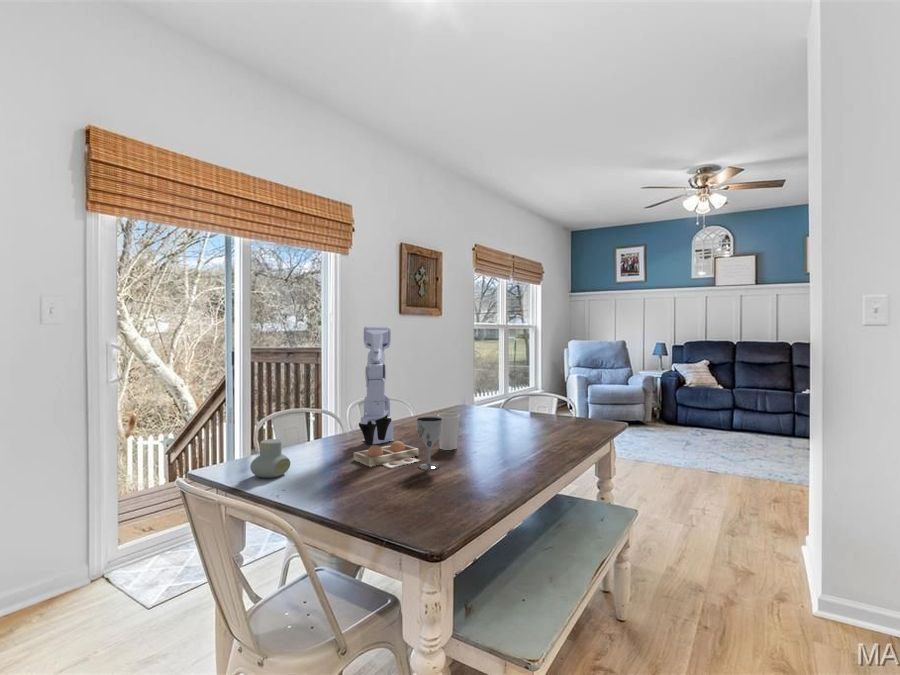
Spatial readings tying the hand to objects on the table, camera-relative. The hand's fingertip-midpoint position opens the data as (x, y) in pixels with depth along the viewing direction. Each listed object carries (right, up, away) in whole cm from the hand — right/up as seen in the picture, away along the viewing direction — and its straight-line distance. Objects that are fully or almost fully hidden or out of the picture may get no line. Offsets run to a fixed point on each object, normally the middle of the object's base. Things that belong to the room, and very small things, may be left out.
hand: (375, 442), depth 154 cm
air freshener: (-28, -6, -16) cm, 33 cm away
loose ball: (0, -3, 0) cm, 3 cm away
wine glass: (+18, -6, -7) cm, 20 cm away
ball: (+7, -3, +6) cm, 10 cm away
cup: (+24, -6, +16) cm, 29 cm away
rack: (+5, -6, +1) cm, 8 cm away
